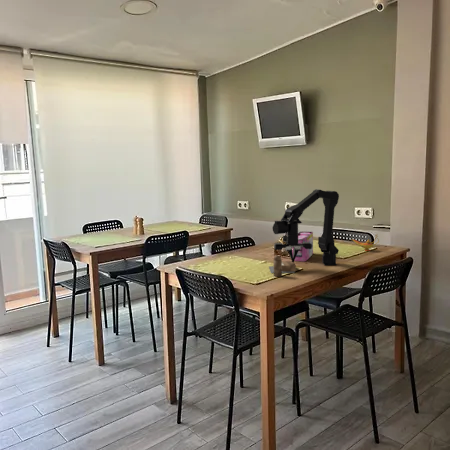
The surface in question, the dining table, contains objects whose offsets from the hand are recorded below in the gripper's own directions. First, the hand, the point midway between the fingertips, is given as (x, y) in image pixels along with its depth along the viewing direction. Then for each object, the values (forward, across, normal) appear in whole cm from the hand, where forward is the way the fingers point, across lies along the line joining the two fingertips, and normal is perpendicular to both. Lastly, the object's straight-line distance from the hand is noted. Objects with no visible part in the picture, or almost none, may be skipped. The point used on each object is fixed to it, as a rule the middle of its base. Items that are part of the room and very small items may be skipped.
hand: (292, 262), depth 234 cm
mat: (+4, +6, 0) cm, 7 cm away
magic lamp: (+4, -49, -43) cm, 65 cm away
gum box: (+4, -10, -30) cm, 32 cm away
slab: (+2, -1, 0) cm, 2 cm away
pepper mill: (+4, +9, +12) cm, 16 cm away
